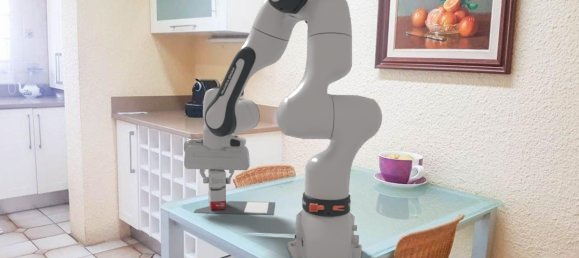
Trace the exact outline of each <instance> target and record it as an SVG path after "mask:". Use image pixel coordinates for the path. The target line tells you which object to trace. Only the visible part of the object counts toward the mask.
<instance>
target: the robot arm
mask: <svg viewBox="0 0 579 258" xmlns="http://www.w3.org/2000/svg"><path fill="white" fill-rule="evenodd" d="M302 21H304V22H305V24H307V31H306V32H307V34H306V35H307V36H306V37H307V39H306V42H307V43H306V62H305V70H304V73H303V76H302V78H301V80H300V82H299V84H298V85H297V86H296V87H295V89H294V90H293V91H292V92H291V93H289V94H288V95H286V96H285V97H284V98H283V99H282V100H281V102H280V104H279V105H278V107H277V109H276V124H277V125H278V127H279V130H280V131H281V132H282V133H283V135H284V136H287V137H291V138H295V139H296V138H297V139H302V140H329V141H330V142H329V144H328V146H327V147H326V148H325V149H324V150H323V151H320V152H318V153H316V154H315V155H313V156H311V157H310V158H309V159H308V161H307V162H306V164H305V166H304V167H305V169H304V191H303V192H302V197H301V202H302V204H301V205H302V206H301V211H300V212H297V214H296V216H295V232H294V240H291V241H288V242H287V246H286V247H287V249H288V252H289V253H290V256H291V258H362V252H363V251H362V250H363V248H362V247H363V246H362V244H361V243H360V235H359V234H355V232H357V231H358V225H356V224H355V216H354V214H353V213H351V206H352V205H351V203H352V200H351V195H350V194H349V193H350V180H351V172H352V167H353V162H354V160H355V158H356V156H357V154H358V152H359V150H360V149H361V148H362V147H363V146H364V144H366V143H367V142H368V141H369V140H370V139H371V138H373V137H374V136H375V135H376V134H377V133H378V131H380V128H381V126H382V122H383V113H382V109H381V107H380V105H379V103H378V102H377V101H376V99H374V98H370V97H368V96H367V97H366V96H361V95H356V94H329V93H328V89H329V88H328V87H329V85H331V84H333V83H335V82H337V81H339V80H341V79H343V78H344V77H346V76H347V75H348V74H349V73H350V72H351V71H352V67H353V28H352V19H351V13H350V8H349V4H348V0H263V2H262V3H261V6H260V7H259V9H258V12H257V14H256V16H255V18H254V21H253V23H252V25H251V28H250V31H249V33H248V35H247V37H246V39H245V42H244V43H243V45H242V46H241V48H240V49H239V50H238V51H237V53H236V54H235V56H234V58H233V59H232V61H231V63H230V66H229V67H228V70H227V71H226V74H225V76H224V78H223V81H222V82H221V85H220V87H211V88H210V89H207V90H206V91H205V93H204V97H203V103H202V118H203V127H202V138H197V139H193V138H189V139H187V140H186V141H185V142H184V143H183V150H184V160H183V166H184V168H185V169H186V170H199V174H200V176H201V177H202V179H203V180H202V182H203V184H208V183H209V177H208V176H207V175H206V174H205V172H206V170H208V169H209V170H225V171H228V173H229V176H228V177H227V176H226V185H231V183H232V182H231V181H232V178H233V175H234V174H235V171H247V170H249V168H250V166H251V160H250V151H249V149H248V147H247V146H246V144H247V140H246V138H245V137H243V136H240V135H237V133H242V132H247V131H251V130H253V129H255V127H257V126H258V124H259V122H260V109H259V106H258V105H257V104H256V102H254V101H253V100H249V99H246V98H243V97H242V94H243V92H244V90H245V88H246V86H247V85H248V82H249V80H250V79H251V78H252V77H253V75H255V74H256V73H258V72H259V71H261V70H263V69H264V68H266V67H269V66H272V65H274V64H276V63H277V62H278V61H280V59H281V58H282V56H283V55H284V53H285V51H286V49H287V47H288V44H289V42H290V38H291V37H292V33H293V29H294V27H295V26H296V25H297V23H300V22H302Z"/></svg>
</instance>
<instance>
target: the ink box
mask: <svg viewBox="0 0 579 258" xmlns="http://www.w3.org/2000/svg"><path fill="white" fill-rule="evenodd" d="M207 171H208V174H207V175H208V176H207V177H209V183H207V184H208V186H207V188H208V189H207V190H208V191H207V192H208V198H207V199H208V202H207V203H208V206H210V208H211V210H219V209H226V202H227V184H226V177H227V172H226V170H209V169H207Z"/></svg>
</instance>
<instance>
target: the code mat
mask: <svg viewBox="0 0 579 258" xmlns="http://www.w3.org/2000/svg"><path fill="white" fill-rule="evenodd" d="M275 204H276V202H275V201H273V202H272V201H246V200H245V201H241V200H228V201H226V209H219V210H211V208H210V206H209V205H208V206H205V207H201V208H196V209H195V210H194V211H193V213H195V214H220V215H221V214H223V215H224V214H225V215H226V214H228V215H254V216H255V215H256V216H257V215H261V216H273V215H274V212H275V211H274V210H275V206H276V205H275Z"/></svg>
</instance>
